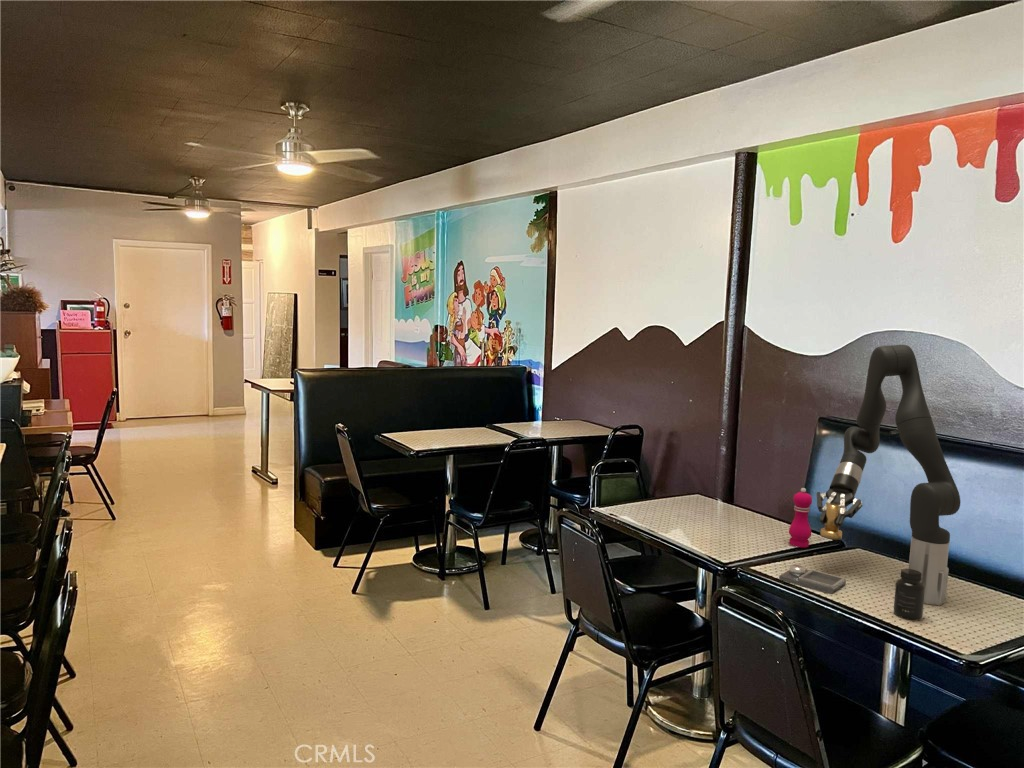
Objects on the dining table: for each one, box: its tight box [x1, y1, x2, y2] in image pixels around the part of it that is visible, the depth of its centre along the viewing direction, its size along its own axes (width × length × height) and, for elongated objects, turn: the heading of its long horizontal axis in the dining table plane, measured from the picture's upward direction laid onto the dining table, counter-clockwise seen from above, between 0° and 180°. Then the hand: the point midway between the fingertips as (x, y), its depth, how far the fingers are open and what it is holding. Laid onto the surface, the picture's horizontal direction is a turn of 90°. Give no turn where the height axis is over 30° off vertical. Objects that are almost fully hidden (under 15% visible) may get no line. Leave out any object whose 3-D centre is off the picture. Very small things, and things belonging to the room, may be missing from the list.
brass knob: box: [820, 503, 843, 541], centre depth 221 cm, size 6×6×10 cm
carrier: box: [778, 564, 847, 595], centre depth 213 cm, size 15×12×3 cm
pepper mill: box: [788, 487, 813, 548], centre depth 248 cm, size 7×7×20 cm
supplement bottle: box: [893, 568, 925, 621], centre depth 190 cm, size 7×7×12 cm
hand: (829, 524), depth 219 cm, fingers closed on brass knob, 3 cm apart
